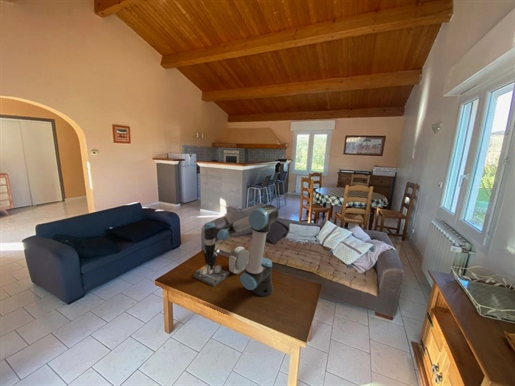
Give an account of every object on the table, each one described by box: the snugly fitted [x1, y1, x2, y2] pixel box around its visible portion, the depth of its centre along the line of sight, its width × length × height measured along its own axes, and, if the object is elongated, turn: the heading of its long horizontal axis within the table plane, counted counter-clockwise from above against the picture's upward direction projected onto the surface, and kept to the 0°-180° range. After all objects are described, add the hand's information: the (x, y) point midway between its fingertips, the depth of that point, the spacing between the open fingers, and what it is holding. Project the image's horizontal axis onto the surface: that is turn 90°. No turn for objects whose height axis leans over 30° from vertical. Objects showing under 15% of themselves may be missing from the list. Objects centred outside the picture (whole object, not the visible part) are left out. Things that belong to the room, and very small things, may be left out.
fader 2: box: [215, 264, 222, 273], centre depth 170 cm, size 3×4×4 cm
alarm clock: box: [228, 246, 250, 275], centre depth 176 cm, size 18×8×20 cm, turn 144°
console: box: [192, 264, 231, 287], centre depth 169 cm, size 21×18×4 cm
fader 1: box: [199, 265, 207, 275], centre depth 167 cm, size 3×4×4 cm
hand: (210, 272), depth 163 cm, fingers closed
